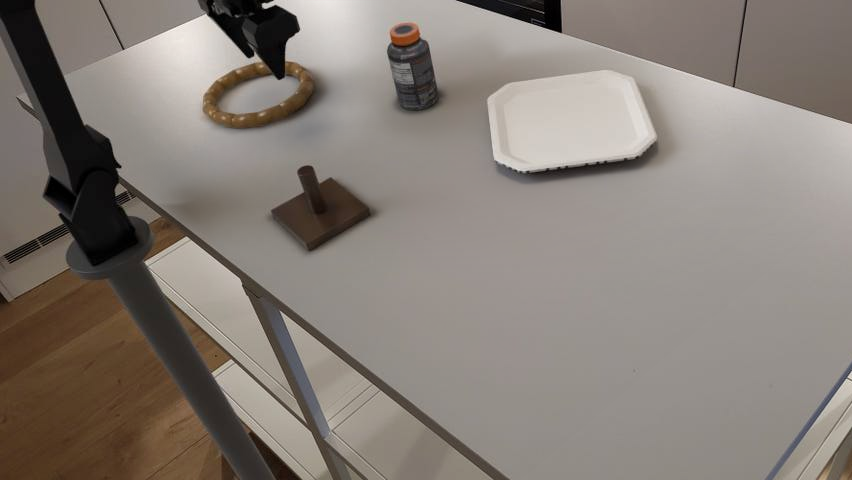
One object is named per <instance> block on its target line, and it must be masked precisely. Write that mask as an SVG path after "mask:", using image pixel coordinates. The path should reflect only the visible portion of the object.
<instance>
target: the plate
mask: <svg viewBox="0 0 852 480" xmlns="http://www.w3.org/2000/svg"><path fill="white" fill-rule="evenodd" d="M637 83H638V82H637V81H636V79H635V78H634V77H632V76H629V75H627V74H623V73H620V72H617V71H614V70H611V69H601V70H594V71H587V72H580V73H572V74H571V73H570V74H565V75H558V76H557V75H556V76H549V77H542V78H533V79H528V80H519V81H513V82H508V83H506V84H505V85H503V86H502V87H500V88H499V89H497V90H496V91H494V92H493V93H492V94H491V95H489V96H488V98H487V99H486V103H487V112H488V120H489V129H490V138H491V147H492V155H493V157H492V158H493V160H494V162H495V163H496V164H498V165H500V166H502V167H505V168H507V169H509V170H512V171H514V172H516V173H518V174H531V173H537V172H545V171H552V170H553V171H554V170H560V169H569V168H576V167H577V168H578V167H584V166H590V165H600V164H606V163H607V164H608V163H615V162H621V161H622V162H623V161H629V160H631V161H632V160H636V159H639V158H641V156H642V155H644V154H645V153H646V152H647V151H648V150H649V149H650V148H652V147H653V146H654V145H655V144H656V143H657V141H658V135H657V132H656V129H655V126H654V124H653V122H652V119H651V116H650V113H649V111H648V109H647V106H646V103H645V101H644V98H643V96H642V94H641V91H640V88H639V86H638V84H637Z"/></svg>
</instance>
